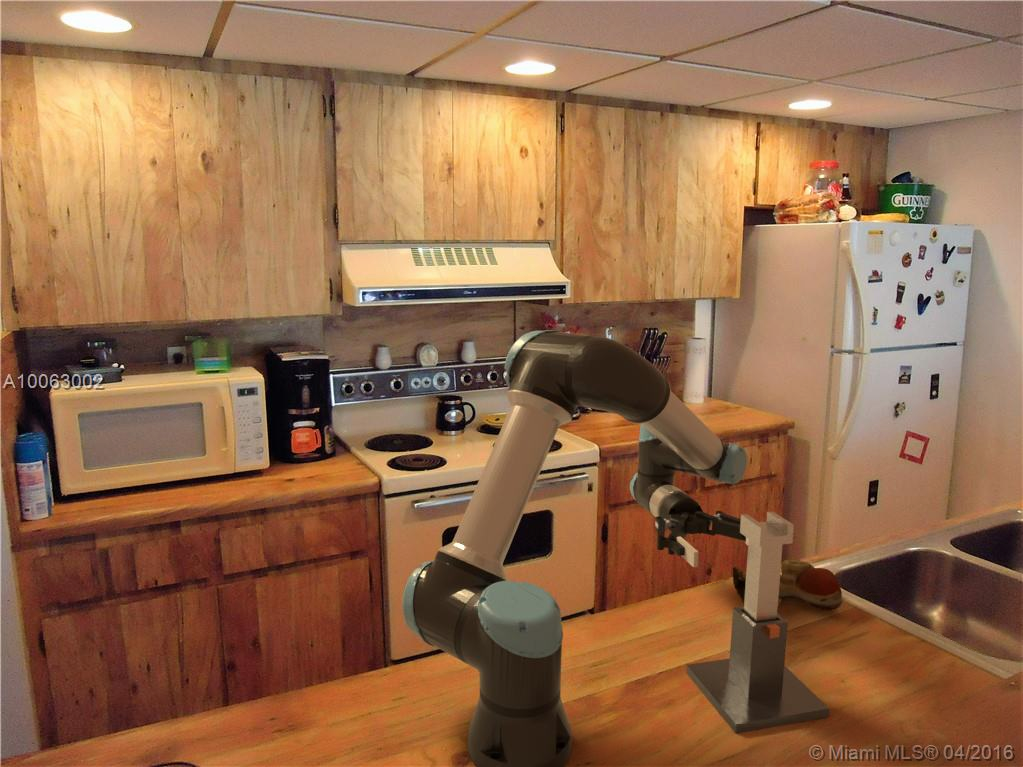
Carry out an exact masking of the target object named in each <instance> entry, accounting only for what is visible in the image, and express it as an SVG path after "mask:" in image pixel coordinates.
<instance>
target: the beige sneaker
mask: <svg viewBox="0 0 1023 767" xmlns="http://www.w3.org/2000/svg"><path fill="white" fill-rule="evenodd" d="M780 573H781V574H780V583H779V596H778V607H779V606H780V605H781V603H782V601H783V600H797V601H801V602H805V603H806V604H809V606H811V607H813V608H815V609H817V610H821V611H835V610H836V609H838V608H840V607H841V606H842V605H843V599H842V597H843V595H842V589H841V586H840V583H839V581H838V579H837V576H835V574H834V573H833V572H832V571H831V570H830V569H828V568H822V567H815V566H814V565H812V564H811V563H808V562H806V561H802V560H801V559H799V558H797V557H795V558H794V557H793V559H791V560H789V559H784V560H783V561H781V571H780ZM732 583H733V586H734V589H736V592H737V595H738V596H739V598H740V599H741V602H743V604H744V600H745V585H746V572H744V573H743V570H742V569H741V568H739V567H738V566H733V567H732Z"/></svg>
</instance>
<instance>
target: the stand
mask: <svg viewBox="0 0 1023 767" xmlns="http://www.w3.org/2000/svg"><path fill="white" fill-rule="evenodd" d="M788 625H789V621H788V620H787V619H785V618H784V617H782V616H781V614H779V613H778V612H777V621H770V622H762V623H754V622H753V621H752V620H751V619H750V618H749V617H748V616H747V615H745V614H744V605H743V606H738V607H737V606H736V607H732V620H731V633H730V648H729V658H724V659H717V660H716V659H715V660H710V661H703V662H697V663H689V664H686V669H685V673H686V674H687V676H688V677H689V679H690V680H691V681H692V682H693V683H694V684H695V685H696V687H697V688H698V689H699V690H700V692H701V693H702V694H703V695H704V696H705V698H706V699H707V700H708V702H709V703H710V704H711V705H712V707H713V708H714V709H715V711H717V712H718V714H719V715H720V716H721V717H722V718H723V720H724V721H725V722H726V724H727V725H728V726H729V728H730V729H731V730H732V731H733V732H734V733H735V734H739V733H745V732H750V731H757V730H763V729H768V728H773V727H774V728H775V727H779V726H785V725H791V724H796V723H802V722H809V721H815V720H818V719H825V718H829V717H830V707H829V706H828V705H827V704H825V703H824V702H823V700H822V699H820V697H818V696H817V695H816V693H814V692H813V691H812V690H811V689H810V688H809V687H808V686H807V685H806V684H805V683H803V681H801V680H800V679H799V678H798V677H797V676H796V675H795V674H794V673H793V672H792V671H791V670H790V669H789V668H788V667H786V665H785V664H786V663H785V661H786V650H787V647H786V646H787V639H788V638H787V637H788Z"/></svg>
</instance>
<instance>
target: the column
mask: <svg viewBox="0 0 1023 767" xmlns="http://www.w3.org/2000/svg"><path fill="white" fill-rule="evenodd" d="M740 519H741V524H740V533H741V534H743V535H744V536H745V537H747V538H748V539H749V542H748V545H747V558H746V559H747V560H746V572H745V573H746V585H745V600H744V603H743V606H744V614H745V615H747V616H748V617H749V618H750V619H751V620H752V621H753V622H754V623H762V622H770V621H777V613H778V609H779V608H778V607H779V606H778V596H779V583H780V575H781V564H782V556H783V555H782V554H783V547H784V546H783V545H790V544H793V542H794V540H793V539H794V531H795V530H794V529H795V524H793V523H792V522H790V521H788V520H787V519H785V518H784V517H782V516H781V515H779V513H776V512H774V511H767V512H766V521H758V520H756V519H755V518H753V517H752V516H750V515H749V514H747V513H744V514H740Z"/></svg>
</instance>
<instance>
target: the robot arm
mask: <svg viewBox="0 0 1023 767" xmlns="http://www.w3.org/2000/svg"><path fill="white" fill-rule="evenodd" d="M504 370H505V371H506V372H505V373H504V380H505V383H506V385H507V387H508V389H507V391H506V397H507V399H508V402H509V405H510V406H509V407H510V408H509V410H508V413H507V415H506V416H505V417H506V418H505V419H504V422H503V424H502V427H501V428H500V431H499V433H498V435H497V437H496V440H495V443H494V445H493V447H492V450H491V452H490V455H489V456H488V459H487V460H486V463H485V466H484V468H483V470H482V473H481V475H480V478H479V479H478V482H477V485H476V487H475V489H474V491H473V494H472V496H471V499H470V501H469V503H468V505H467V507H466V510H465V513H464V515H463V517H462V519H461V521H460V524H459V526H458V528H457V531H456V533H455V535H454V538H453V539H452V542H450V543H448V544H446V545H444V546H442V547H439V548H438V550H437V551H436V552H437V553H436V555H435V557H434V559H432V560H428V561H425V562H422V564H420V566H419V567H416V568H415V569H414V570H413V571H412V573H411V574H410V576H409V578H408V580H407V581H406V585H405V587H404V591H403V595H402V604H401V606H402V615H403V616H404V621H405V624H406V626H407V627H408V629H409V630H410V631H411V632H412V633H413V634H414V635H415V636H416V637H418V638H420V639H421V640H422V641H423V642H424V643H425V644H427V645H429V646H432V647H436V648H438V649H439V650H441V651H443V652H445V653H446V654H448V655H450V656H452V657H453V658H456V659H457V660H460V661H461V662H463V663H464V664H466V665H469V666H470V667H472V668H474V669H475V670H477V672H478V674H479V696H478V697H479V698H478V701H477V702H476V706H475V709H474V712H473V715H472V718H471V721H470V723H469V726H468V731H467V750H468V751H467V752H468V755H469V757H470V759H471V761H472V762H473V764H475V766H476V767H564V766H565V765H566V764H567V763H568V762H569V759H570V757H571V755H572V751H573V750H572V749H573V748H572V747H573V746H572V745H573V733H572V727H571V723H570V721H569V717H568V715H567V712H566V710H565V707H564V704H563V701H562V697H561V690H562V689H561V688H562V687H561V684H562V653H563V652H562V650H563V648H562V647H563V645H562V644H563V640H564V639H563V637H564V632H563V625H562V613H561V608H560V605H559V603H558V601H557V600H556V599H555V597H554V596H553V595H552V594H550V592H548V591H547V590H546V589H544V588H542V587H540V586H539V585H537V584H534V583H530V582H526V581H524V580H523V581H521V582H517V581H515V580H512V579H511V580H508V577H507V574H506V571H505V570H504V569H505V568H504V565H503V564H504V561H505V559H506V556H507V554H508V551H509V549H510V547H511V544H512V542H513V539H514V536H515V535H516V532H517V529H518V527H519V524H520V522H521V519H522V517H523V515H524V512H525V510H526V508H527V506H528V503H529V500H530V497H531V495H532V493H533V490H534V488H535V486H536V483H537V481H538V478H539V476H540V473H541V471H542V469H543V466H544V463H545V461H546V459H547V456H548V455H549V451H550V449H551V447H552V444H553V442H554V440H555V438H556V436H557V435H556V434H557V432H558V430H559V428H560V427H562V426H563V425H566V424H568V423H571V422H572V420H573V417H574V415H575V413H576V410H577V408H578V407H581V408H586V409H587V408H589V409H593V410H598V411H599V410H600V411H604V412H608V413H611V414H616V415H618V416H621V418H623V420H626V421H628V422H629V423H631V424H635V425H637V424H638V425H640V428H639V436H638V437H639V438H638V441H637V442H638V459H637V460H638V462H637V463H638V465H637V466H638V467H637V472H636V473H635V474H634V475H633V477H632V479H631V480H630V483H629V491H630V494H631V496H632V498H633V499H634V500H635V501H636V502H637V504H638V505H639V506H640V507H642V508H643V509H645V511H647V512H649V513H650V514H651V515H652V516H653V517H655V522H654V523H655V525H654V531H656V533H657V537H656V538H657V540H656V549H657V550H658V551H663V550H665V549H667V554H668V555H671V556H673V555H675V554H676V555H677V556H679V557H680V556H681V558H683V559H684V560H685V561H686V562H687V563H688V564H689V565H690V566H691V567H693V568H699V551H698V550H697V549H696V548H694V547H693V546H692V545H691V543H689V542H688V541H686V540H685V537H686V536H688V535H697V534H704V535H709V536H712V537H713V536H714V537H715V536H716V535H720V536H723V537H727V538H730V539H731V538H732V539H735V540H740V541H743V542H745V545H747V546H748V542H749V539H748V538H747V537H745V536H744V535H743V534H741V533H740V524H741V518H738V517H736V516H733V515H729V514H727V513H726V512H724V511H722V510H716V511H715V514H714V515H712V514H710V513H708V512H707V513H706V512H704V510H703V509H702V507H701V505H700V504H699V503H698V502H697V501H696V500H695V499H693V498H692V497H691V496H689V495H688V494H687V493H686V492H685V491H683V490H682V489H680V488H679V487H677V486H676V485H675V476H676V475H675V474H676V472H680V473H683V474H687V475H692V476H696V477H700V478H704V479H708V480H712V481H715V482H718V483H725V484H731V485H735V484H737V483H739V482H741V481H742V479H743V477H744V475H745V473H746V469H747V464H748V454H747V451H746V449H745V448H744V447H743V446H740V445H737V444H733V442H732V443H731V442H730V443H729V442H728V443H727V442H724V441H723V440H721V439H720V438H719V437H718V436H717V435H716V434H715V433H714V432H713V431H712V430H711V429H710V428H709V427H708V426H707V425H706V424H705V423H704V422H703V421H702V420H701V419H700V418H699V417H698V416H697V415H696V414H695V413H694V412H693V411H692V410H691V409H690V408H689V407H688V406H687V405H686V404H685V403H684V402H683V401H682V400H681V399H680V398H679V397H678V396H677V395H676V394H675V393H674V392H673V391H672V390H671V384H670V381H669V380H668V378H667V377H666V376H665V375H664V374H663V372H661V370H659V369H658V367H656V366H655V365H654V364H652V363H651V362H650V361H649V360H648V359H646V358H645V357H644V356H643V355H641V354H640V353H638V352H637V351H635V350H634V349H632V348H630V347H629V346H627V345H625V344H623V343H621V342H619V341H617V340H615V339H612V338H609V337H604V336H597V335H596V336H594V335H587V334H578V333H569V332H561V331H558V330H555V329H554V330H553V329H549V330H548V329H547V330H533V331H530V332H527V333H524V334H523V335H521V336H520V337H518V339H517V340H516V341H515V342H514V343H513V344H512V346H511V348H510V349H509V350H508V353H507V356H506V358H505V361H504ZM710 528H711V529H710ZM667 529H668V530H669V531H670V533H669V535H668V537H665V536H666V535H665V534H666V532H667Z"/></svg>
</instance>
